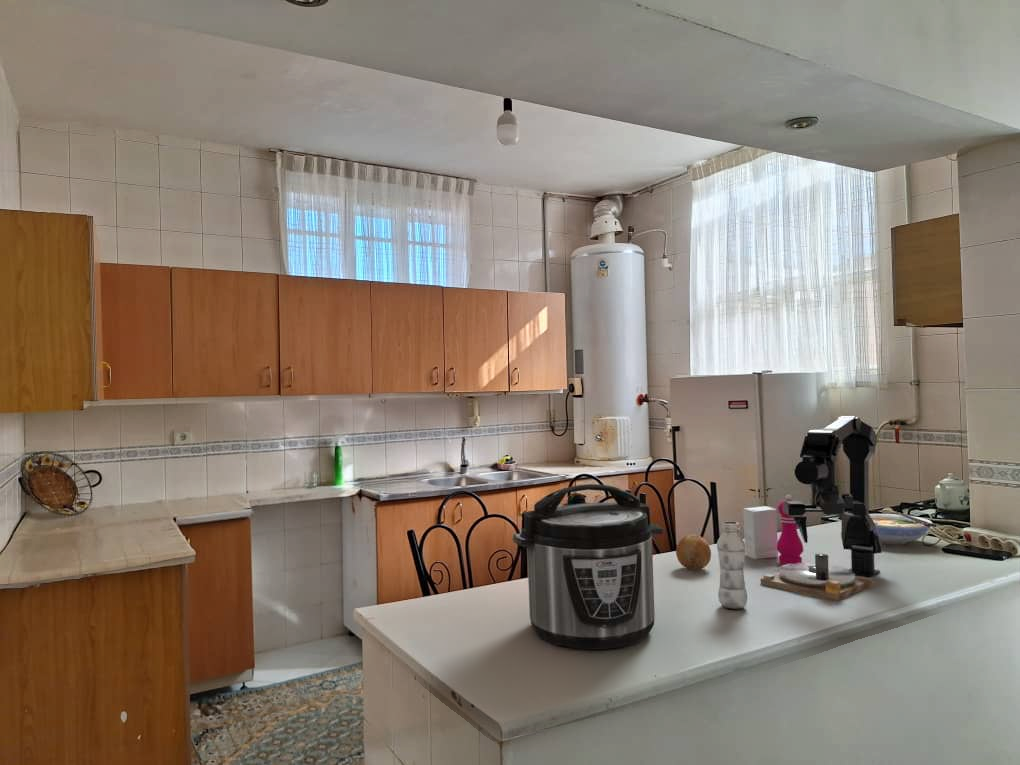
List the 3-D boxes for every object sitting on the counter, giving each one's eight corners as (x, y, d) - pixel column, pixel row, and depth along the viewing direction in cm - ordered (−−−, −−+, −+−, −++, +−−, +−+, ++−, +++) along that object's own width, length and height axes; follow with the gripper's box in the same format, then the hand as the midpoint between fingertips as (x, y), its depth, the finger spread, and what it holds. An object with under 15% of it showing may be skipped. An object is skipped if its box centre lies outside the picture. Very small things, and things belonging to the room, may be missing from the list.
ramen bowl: (842, 534, 239) (841, 510, 239) (912, 534, 236) (912, 510, 236) (870, 550, 214) (869, 524, 214) (949, 551, 211) (948, 524, 211)
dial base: (799, 570, 193) (799, 556, 193) (873, 584, 178) (872, 569, 178) (760, 584, 181) (760, 569, 181) (836, 601, 165) (835, 584, 165)
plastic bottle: (733, 613, 158) (731, 526, 158) (712, 605, 164) (710, 521, 164) (753, 609, 161) (751, 523, 161) (732, 601, 167) (730, 519, 167)
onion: (707, 565, 201) (707, 530, 202) (714, 574, 192) (713, 538, 192) (674, 564, 202) (673, 531, 203) (679, 573, 193) (678, 538, 193)
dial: (774, 567, 190) (774, 539, 190) (845, 570, 186) (844, 541, 186) (785, 586, 173) (784, 555, 173) (863, 589, 168) (862, 557, 168)
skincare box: (767, 553, 214) (766, 505, 214) (779, 557, 208) (778, 508, 208) (743, 555, 212) (742, 507, 212) (754, 559, 206) (753, 510, 206)
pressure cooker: (501, 647, 141) (498, 492, 141) (545, 605, 167) (542, 475, 167) (648, 665, 130) (644, 497, 130) (670, 618, 156) (667, 478, 156)
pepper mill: (806, 566, 197) (804, 496, 198) (779, 565, 199) (777, 496, 199) (800, 560, 205) (799, 493, 205) (775, 559, 206) (773, 492, 206)
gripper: (794, 484, 165) (796, 549, 165) (876, 484, 163) (877, 550, 163) (781, 478, 176) (782, 539, 176) (857, 478, 174) (859, 540, 174)
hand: (825, 542), depth 172 cm, fingers open, 9 cm apart
